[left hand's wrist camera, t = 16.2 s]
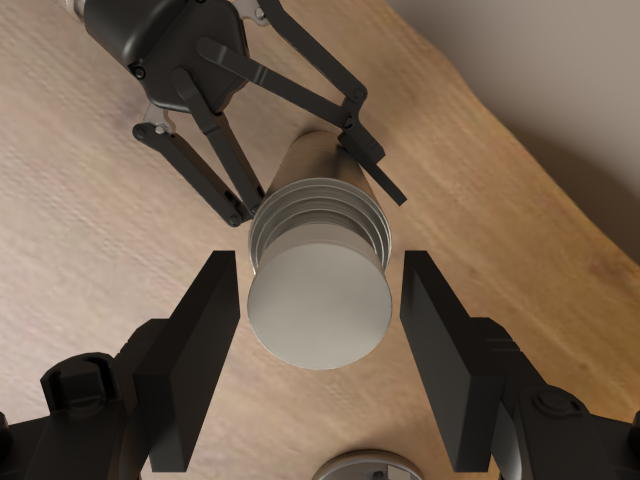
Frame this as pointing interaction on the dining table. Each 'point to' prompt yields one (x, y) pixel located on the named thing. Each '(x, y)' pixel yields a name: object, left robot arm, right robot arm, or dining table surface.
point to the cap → (319, 297)
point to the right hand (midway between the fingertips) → (364, 228)
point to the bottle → (319, 197)
